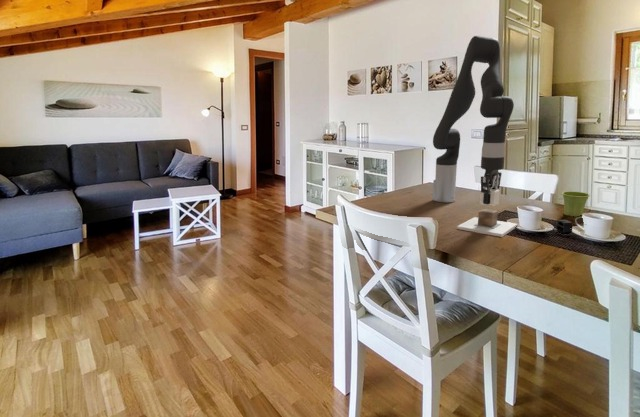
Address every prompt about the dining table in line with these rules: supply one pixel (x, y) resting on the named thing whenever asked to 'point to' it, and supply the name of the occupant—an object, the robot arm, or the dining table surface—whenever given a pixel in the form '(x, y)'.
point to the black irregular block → (564, 227)
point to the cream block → (493, 199)
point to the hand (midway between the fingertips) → (489, 202)
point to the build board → (496, 230)
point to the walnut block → (487, 217)
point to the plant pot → (574, 203)
